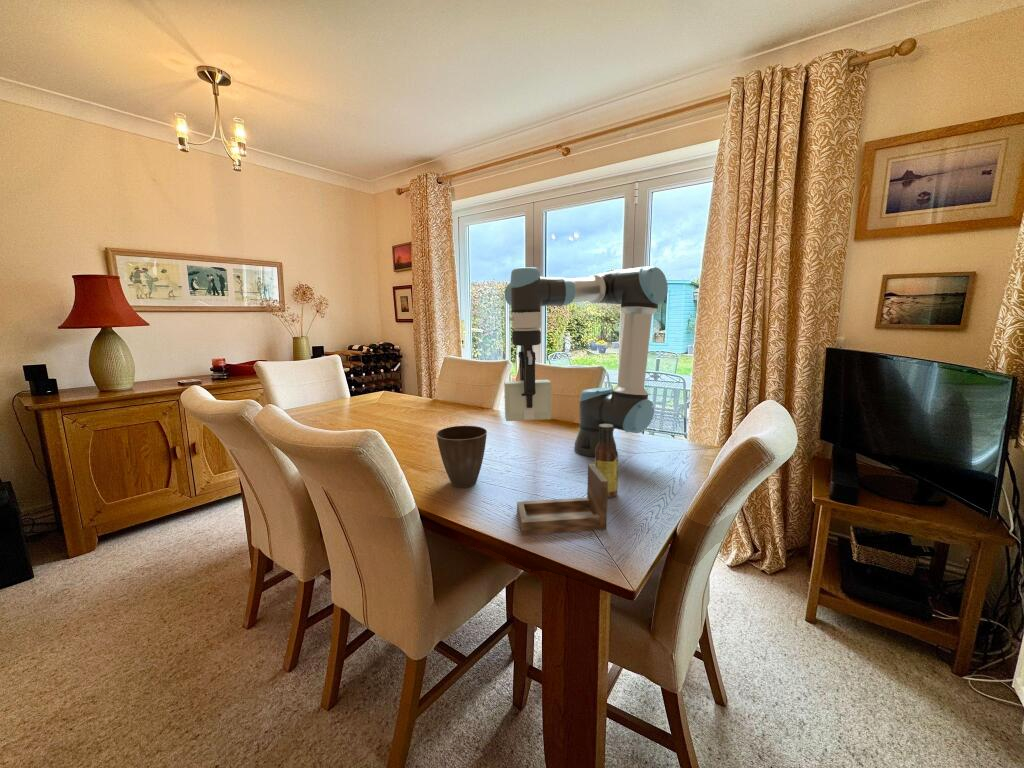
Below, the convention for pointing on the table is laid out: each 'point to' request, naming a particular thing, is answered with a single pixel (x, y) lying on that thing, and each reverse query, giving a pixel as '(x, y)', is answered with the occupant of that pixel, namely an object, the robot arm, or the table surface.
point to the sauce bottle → (607, 458)
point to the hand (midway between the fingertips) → (527, 416)
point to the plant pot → (462, 453)
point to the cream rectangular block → (516, 400)
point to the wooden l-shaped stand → (567, 510)
